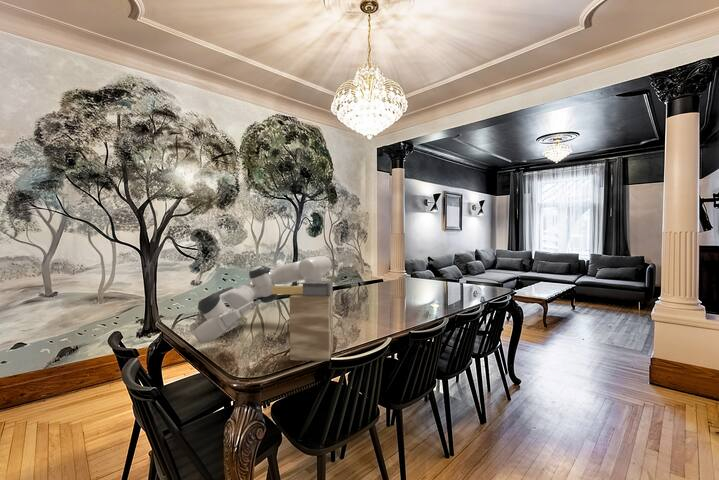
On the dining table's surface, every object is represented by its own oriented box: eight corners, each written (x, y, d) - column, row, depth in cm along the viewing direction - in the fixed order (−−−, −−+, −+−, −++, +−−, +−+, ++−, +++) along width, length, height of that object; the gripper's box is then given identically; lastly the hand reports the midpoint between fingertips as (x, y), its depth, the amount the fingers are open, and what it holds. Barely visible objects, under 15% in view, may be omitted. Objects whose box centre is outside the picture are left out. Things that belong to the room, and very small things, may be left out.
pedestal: (297, 349, 143) (297, 291, 143) (333, 350, 142) (332, 291, 142) (290, 360, 131) (289, 297, 131) (328, 360, 130) (328, 297, 130)
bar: (273, 292, 139) (273, 285, 139) (328, 293, 137) (328, 286, 137) (271, 294, 136) (271, 287, 136) (327, 294, 134) (327, 287, 134)
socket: (307, 292, 140) (306, 280, 140) (332, 292, 139) (332, 280, 139) (302, 296, 132) (302, 283, 132) (329, 296, 132) (329, 283, 132)
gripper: (242, 318, 149) (268, 304, 148) (221, 332, 128) (250, 315, 127) (236, 307, 149) (261, 292, 148) (213, 319, 128) (242, 302, 127)
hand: (256, 303), depth 137 cm, fingers open, 8 cm apart
